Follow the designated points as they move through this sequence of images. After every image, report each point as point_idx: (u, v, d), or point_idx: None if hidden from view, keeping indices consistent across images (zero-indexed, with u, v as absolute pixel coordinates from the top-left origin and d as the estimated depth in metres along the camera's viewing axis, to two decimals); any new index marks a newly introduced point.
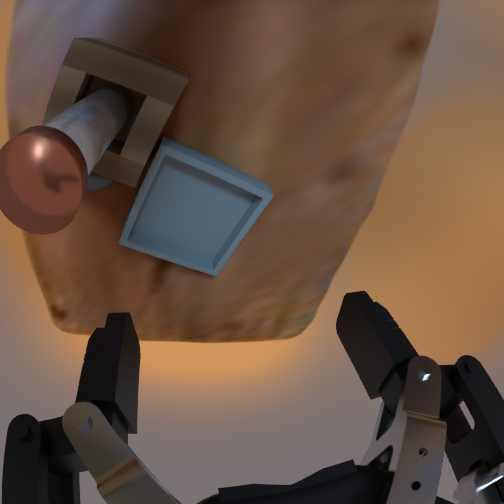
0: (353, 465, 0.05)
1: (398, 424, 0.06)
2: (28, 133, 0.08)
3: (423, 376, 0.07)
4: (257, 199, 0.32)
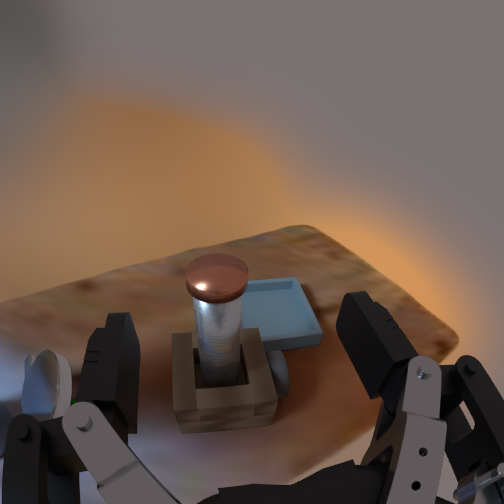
0: (353, 465, 0.05)
1: (398, 424, 0.06)
2: (187, 281, 0.22)
3: (423, 376, 0.07)
4: None
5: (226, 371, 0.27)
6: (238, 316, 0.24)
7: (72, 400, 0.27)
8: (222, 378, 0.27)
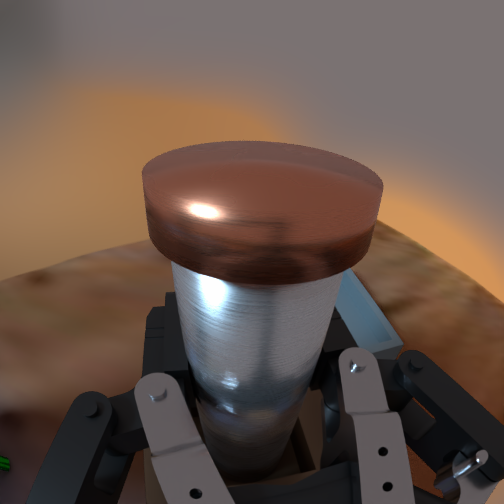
0: None
1: (346, 427, 0.06)
2: (145, 190, 0.05)
3: (354, 368, 0.07)
4: None
5: (267, 455, 0.10)
6: (325, 332, 0.07)
7: None
8: (255, 465, 0.10)
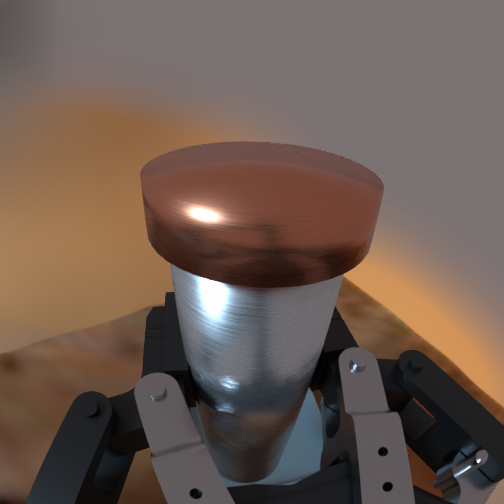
0: None
1: (346, 428, 0.06)
2: (144, 191, 0.05)
3: (354, 368, 0.07)
4: None
5: (267, 456, 0.10)
6: (325, 334, 0.07)
7: None
8: (255, 466, 0.10)
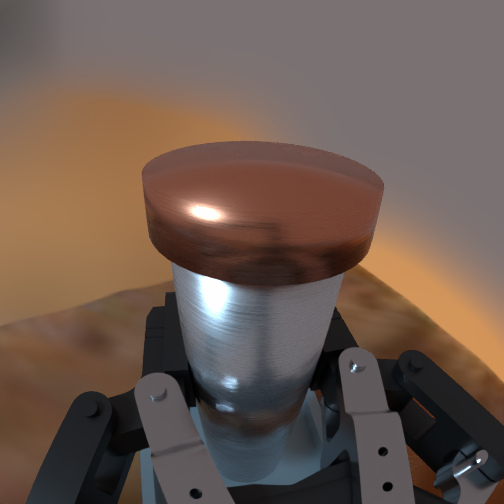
0: None
1: (346, 427, 0.06)
2: (145, 190, 0.05)
3: (354, 368, 0.07)
4: None
5: (267, 456, 0.10)
6: (326, 333, 0.07)
7: None
8: (255, 465, 0.10)
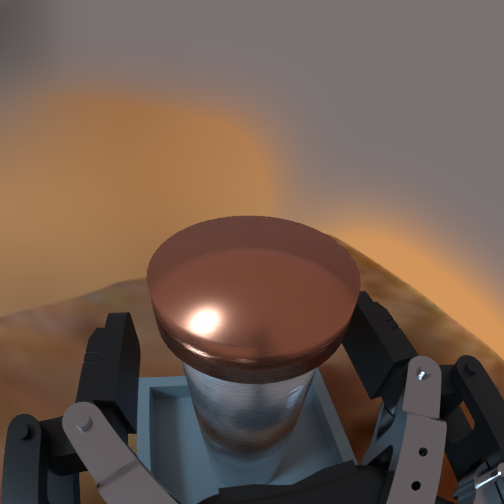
0: (353, 465, 0.05)
1: (398, 424, 0.06)
2: (152, 300, 0.06)
3: (423, 376, 0.07)
4: (162, 393, 0.18)
5: (262, 472, 0.11)
6: (309, 387, 0.08)
7: None
8: (252, 479, 0.11)
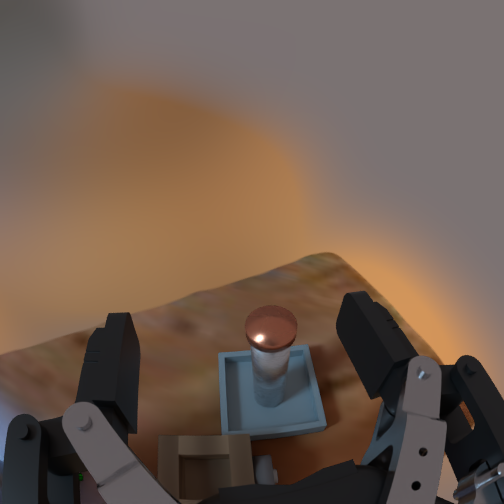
0: (353, 465, 0.05)
1: (398, 424, 0.06)
2: (247, 334, 0.26)
3: (423, 376, 0.07)
4: (230, 360, 0.40)
5: (275, 392, 0.32)
6: (287, 355, 0.28)
7: None
8: (271, 396, 0.32)
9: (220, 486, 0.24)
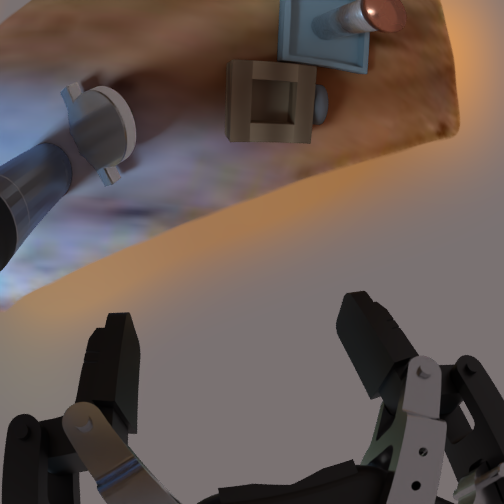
0: (353, 465, 0.05)
1: (398, 424, 0.06)
2: (366, 10, 0.18)
3: (423, 376, 0.07)
4: None
5: (342, 36, 0.28)
6: None
7: None
8: (335, 37, 0.29)
9: (277, 107, 0.34)
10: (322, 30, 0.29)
